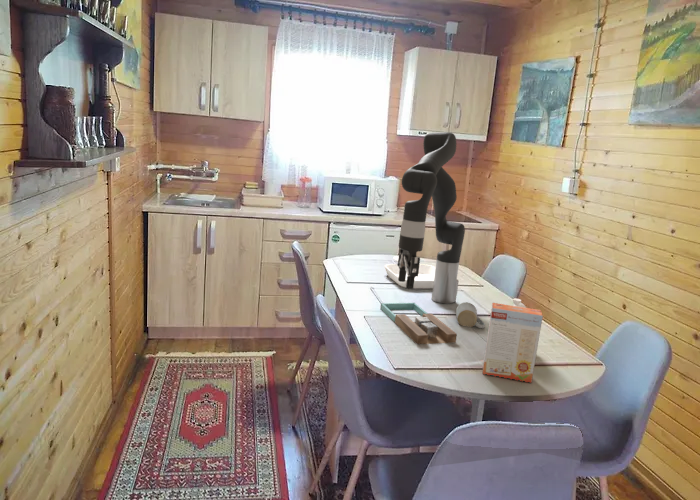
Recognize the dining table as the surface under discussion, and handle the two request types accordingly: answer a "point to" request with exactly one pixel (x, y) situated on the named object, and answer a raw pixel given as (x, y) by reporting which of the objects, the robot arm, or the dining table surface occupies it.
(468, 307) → the ceramic mug
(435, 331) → the metal block
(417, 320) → the metal block
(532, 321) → the cracker box
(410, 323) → the walnut slot board
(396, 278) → the pan
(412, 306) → the teal tray
